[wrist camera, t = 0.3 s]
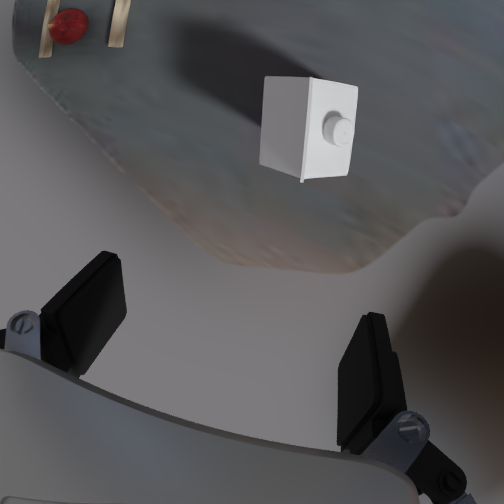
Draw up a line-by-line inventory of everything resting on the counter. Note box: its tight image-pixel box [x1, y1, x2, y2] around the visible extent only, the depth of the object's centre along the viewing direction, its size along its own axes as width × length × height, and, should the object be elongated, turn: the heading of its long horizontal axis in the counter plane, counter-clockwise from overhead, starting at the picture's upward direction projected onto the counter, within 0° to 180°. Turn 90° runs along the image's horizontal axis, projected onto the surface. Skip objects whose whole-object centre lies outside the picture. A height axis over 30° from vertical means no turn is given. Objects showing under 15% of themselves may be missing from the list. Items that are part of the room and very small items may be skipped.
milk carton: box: [259, 76, 358, 183], centre depth 27 cm, size 7×7×19 cm
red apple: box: [46, 9, 88, 45], centre depth 29 cm, size 6×6×8 cm
